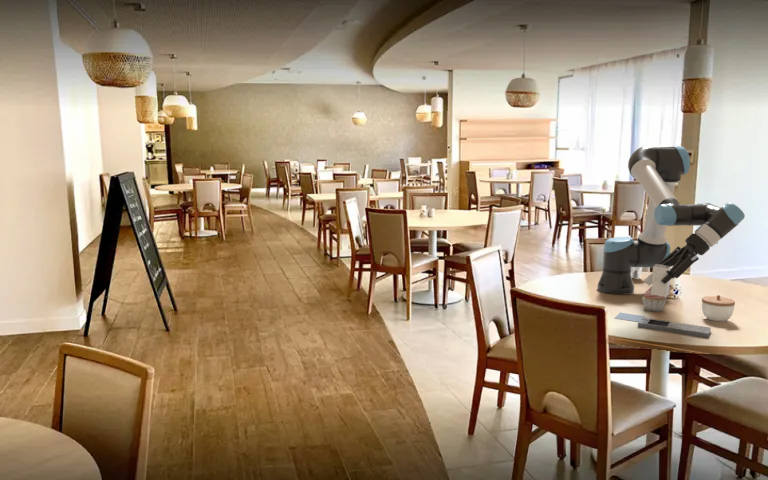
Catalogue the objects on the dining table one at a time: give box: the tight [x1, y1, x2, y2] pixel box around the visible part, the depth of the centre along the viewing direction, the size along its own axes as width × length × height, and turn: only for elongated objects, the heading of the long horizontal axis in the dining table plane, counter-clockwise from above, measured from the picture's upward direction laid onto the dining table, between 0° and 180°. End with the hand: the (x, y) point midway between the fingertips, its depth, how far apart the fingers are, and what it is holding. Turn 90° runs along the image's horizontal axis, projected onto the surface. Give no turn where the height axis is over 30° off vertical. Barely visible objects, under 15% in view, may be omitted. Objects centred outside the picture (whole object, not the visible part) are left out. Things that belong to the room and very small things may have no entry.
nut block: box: [650, 264, 672, 298], centre depth 216 cm, size 5×5×10 cm
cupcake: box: [641, 285, 668, 313], centre depth 242 cm, size 9×9×10 cm
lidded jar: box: [701, 294, 736, 323], centre depth 228 cm, size 11×11×9 cm
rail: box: [637, 317, 712, 339], centre depth 216 cm, size 22×8×2 cm, turn 57°
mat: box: [614, 312, 646, 323], centre depth 230 cm, size 9×9×1 cm
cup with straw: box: [631, 238, 643, 280], centre depth 296 cm, size 8×9×20 cm
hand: (650, 285), depth 217 cm, fingers closed on nut block, 7 cm apart
